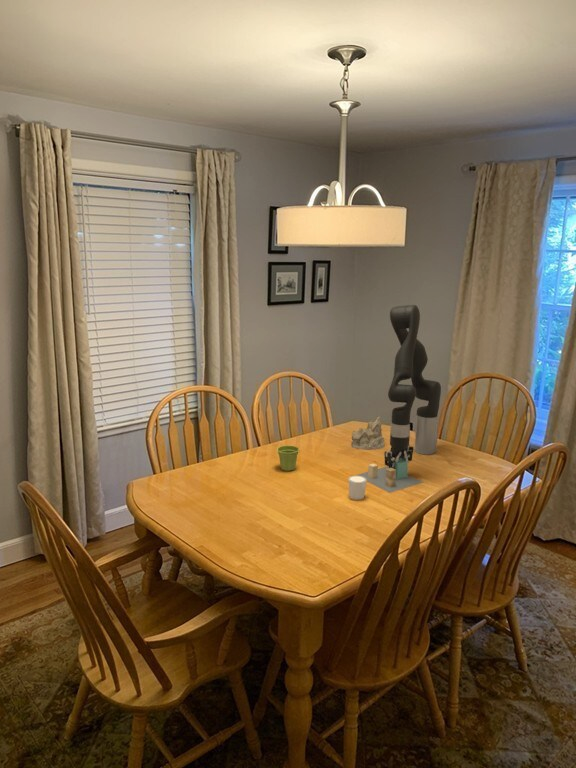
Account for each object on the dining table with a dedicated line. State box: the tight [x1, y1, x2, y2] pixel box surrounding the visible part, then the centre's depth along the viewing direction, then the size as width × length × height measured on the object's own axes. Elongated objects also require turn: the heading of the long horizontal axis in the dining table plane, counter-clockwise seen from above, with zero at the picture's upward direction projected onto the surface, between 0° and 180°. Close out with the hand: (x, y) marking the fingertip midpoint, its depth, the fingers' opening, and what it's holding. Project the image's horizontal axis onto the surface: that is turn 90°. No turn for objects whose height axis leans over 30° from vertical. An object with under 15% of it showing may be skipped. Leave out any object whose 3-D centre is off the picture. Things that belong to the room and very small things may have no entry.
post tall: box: [385, 468, 396, 487], centre depth 216 cm, size 3×3×6 cm
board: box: [354, 463, 424, 494], centre depth 222 cm, size 18×20×6 cm
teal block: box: [391, 458, 409, 480], centre depth 225 cm, size 5×5×7 cm
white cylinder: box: [347, 475, 367, 501], centre depth 208 cm, size 7×7×7 cm
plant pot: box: [276, 445, 300, 472], centre depth 235 cm, size 9×9×9 cm
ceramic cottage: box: [350, 416, 385, 451], centre depth 265 cm, size 16×16×15 cm
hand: (397, 473), depth 225 cm, fingers open, 6 cm apart
